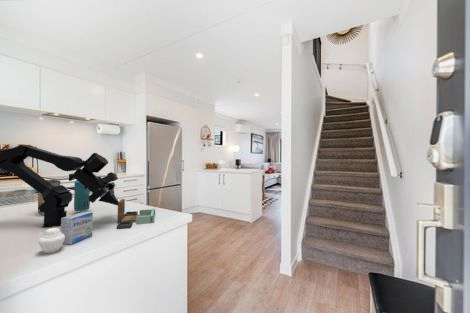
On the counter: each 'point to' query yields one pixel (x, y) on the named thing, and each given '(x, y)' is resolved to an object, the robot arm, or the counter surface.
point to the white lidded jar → (51, 240)
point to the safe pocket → (148, 218)
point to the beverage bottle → (81, 197)
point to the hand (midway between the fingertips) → (118, 204)
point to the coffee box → (40, 199)
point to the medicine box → (77, 227)
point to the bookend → (122, 213)
